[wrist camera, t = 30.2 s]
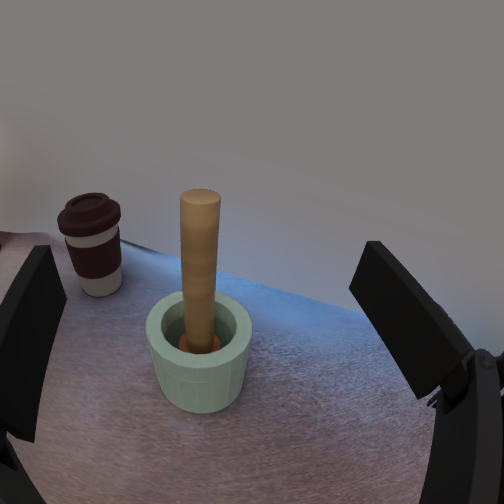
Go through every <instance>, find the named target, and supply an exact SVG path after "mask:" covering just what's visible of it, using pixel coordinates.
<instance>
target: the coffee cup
mask: <svg viewBox="0 0 504 504" xmlns="http://www.w3.org/2000/svg"><path fill="white" fill-rule="evenodd" d="M120 217H121V212H120V205H119V204H118V203H117V202H116V201H114V200H111V199H109V197H108V196H107V195H105V194H103V193H88V194H83V195H79V196H77V197H75V198H73V199H71V200H70V201H68V202H67V204H66V205H65V209H64V210H63V211H61V213H60V214H59V216H58V219H57V221H58V226H59V230H60V232H61V233H62V234H64V235H65V242H66V246H67V249H68V252H69V255H70V258H71V261H72V263H73V266H74V269H75V271H76V273H77V274H78V276H79V279H80V282H81V284H82V287H83V289H84V291H85V292H86V293H87V294H89V295H91V296H94V297H104V296H107V295H110V294H112V293H114V292H115V291H116V290H117V289H118V288H119V287H120V285H121V283H122V272H121V248H120V234H119V227H118V222H119V220H120Z"/></svg>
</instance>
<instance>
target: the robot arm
mask: <svg viewBox="0 0 504 504" xmlns="http://www.w3.org/2000/svg"><path fill="white" fill-rule="evenodd" d="M349 290H350V291H351V292H352V294H353V296H354V297H355V299H356V300H357V302H358V303H359V305H360V306H361V308H362V309H363V311H364V312H365V314H366V315H367V317H368V319H369V320H370V322H371V323H372V325H373V326H374V328H375V329H376V331H377V333H378V334H379V336H380V337H381V339H382V341H383V342H384V344H385V345H386V347H387V349H388V350H389V352H390V353H391V355H392V357H393V358H394V360H395V362H396V363H397V365H398V367H399V368H400V370H401V372H402V373H403V375H404V377H405V379H406V380H407V382H408V384H409V385H410V387H411V389H412V391H413V392H414V394H415V396H416V398H417V400H419V399H421V398H423V397H425V396H427V395H429V394H430V393H431V392H432V391H434V390H435V389H436V388H437V387H438V386H439V385H440V387H441V389H440V390H439V391H438V392H437V393H436V394H435V395H434V396H433V397H432V398H431V399H430V400H429V401H428V403H427V406H430V405H431V404H432V403H433V402H434V401H435V400H437V401H436V402H435V403H434V404H433V406H432V408H436V416H435V425H434V433H433V440H432V446H431V452H430V458H429V463H428V468H427V473H426V477H425V482H424V486H423V490H422V493H421V497H420V501H419V504H504V395H503V396H502V397H501V394H500V391H501V390H502V389H503V388H504V352H503V353H502V354H501V355H500V356H498V357H493V356H492V355H491V354H490V353H489V352H488V351H486V350H485V349H478V350H474V348H473V347H472V346H471V344H470V343H469V342H468V340H467V339H466V338H465V336H464V335H463V334H462V332H461V331H460V330H459V328H458V327H457V326H456V324H453V321H452V319H451V318H450V317H448V314H447V313H446V312H445V311H444V310H443V308H442V307H441V306H440V305H439V304H437V303H436V302H435V301H434V300H433V299H432V298H431V297H430V296H429V295H428V293H427V292H426V291H425V290H424V289H423V288H422V287H421V285H420V284H419V283H418V282H417V281H416V279H415V278H413V276H412V275H411V274H410V273H409V272H408V271H407V269H406V268H405V267H404V266H403V265H402V264H401V263H400V262H399V261H398V260H397V259H396V258H395V256H394V255H393V254H391V252H390V251H389V250H388V249H387V248H386V247H385V246H384V245H383V244H382V243H381V242H380V241H367V243H366V245H365V248H364V251H363V253H362V256H361V259H360V261H359V264H358V266H357V269H356V272H355V274H354V277H353V279H352V282H351V284H350V286H349ZM66 301H67V297H66V294H65V291H64V289H63V286H62V283H61V280H60V277H59V274H58V271H57V267H56V264H55V261H54V257H53V254H52V250H51V247H50V245H41V246H34V248H33V249H32V251H31V252H30V254H29V256H28V257H27V259H26V260H25V262H24V264H23V265H22V267H21V269H20V270H19V272H18V274H17V275H16V277H15V279H14V281H13V282H12V284H11V286H10V288H9V290H8V291H7V293H6V295H5V297H4V299H3V301H2V303H1V305H0V504H46V503H45V501H44V500H43V498H42V497H41V495H40V494H39V492H38V491H37V489H36V488H35V486H34V485H33V483H32V481H31V480H30V478H29V476H28V475H27V473H26V471H25V469H24V468H23V466H22V464H21V462H20V460H19V459H18V457H17V455H16V453H15V451H14V449H13V447H12V445H11V443H10V441H9V440H8V438H6V434H7V431H8V432H9V433H10V434H12V435H13V436H14V437H16V438H18V439H21V440H24V441H28V442H32V443H34V439H35V430H36V423H37V416H38V409H39V403H40V398H41V392H42V387H43V382H44V378H45V373H46V369H47V365H48V361H49V357H50V353H51V349H52V346H53V342H54V338H55V335H56V332H57V328H58V325H59V322H60V319H61V316H62V313H63V310H64V307H65V304H66Z"/></svg>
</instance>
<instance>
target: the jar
mask: <svg viewBox="0 0 504 504" xmlns="http://www.w3.org/2000/svg"><path fill="white" fill-rule="evenodd" d="M183 334H185V323H184V309H183V291H178V292H174V293H172V294H170V295H168V296H166V297H164V298H163V299H161V300H160V301H159V302H158V303H157V304H156V305H155V306H154V307H153V308H152V309H151V311H150V313H149V315H148V317H147V320H146V336H147V340H148V344H149V348H150V352H151V356H152V360H153V364H154V368H155V371H156V375H157V378H158V382H159V384H160V387H161V390H162V392H163V393H164V395H165V396H166V398H167V399H168V400H169V401H170V402H171V403H172V404H174V405H175V406H176V407H178V408H180V409H182V410H185V411H187V412H191V413H198V414H206V413H213V412H217V411H219V410H222V409H224V408H226V407H227V406H229V405H230V404H231V403H232V402H233V401H234V400H235V399H236V398H237V397H238V395H239V393H240V391H241V388H242V385H243V380H244V374H245V369H246V364H247V358H248V353H249V348H250V342H251V336H252V323H251V320H250V316H249V314H248V312H247V311H246V310H245V309H244V307H243V306H242V305H241V304H240V303H239V302H237V301H236V300H235V299H233V298H232V297H230V296H228V295H225V294H223V293H220V292H218V291H215V309H214V334H215V335H217V337H218V338H219V340H220V342H221V350H218V351H216V352H213V353H210V354H191V353H186V352H183V351H181V350H179V340H180V338H181V337H182V335H183Z"/></svg>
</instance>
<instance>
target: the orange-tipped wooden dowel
mask: <svg viewBox="0 0 504 504" xmlns="http://www.w3.org/2000/svg"><path fill="white" fill-rule="evenodd" d="M220 202H221V196H220V195H219V194H218V193H217V192H215V191H212V190H207V189H192V190H188V191H185V192H183V193H182V194H181V199H180V209H181V210H180V219H181V220H180V225H181V226H180V227H181V269H182V291H183V309H184V323H185V334H183V335H182V337H181V338H180V340H179V350H181V351H183V352H186V353H191V354H210V353H213V352H216V351H218V350H221V342H220V340H219V338H218V337H217V335H215V334H214V309H215V286H216V265H217V248H218V232H219V217H220Z"/></svg>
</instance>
